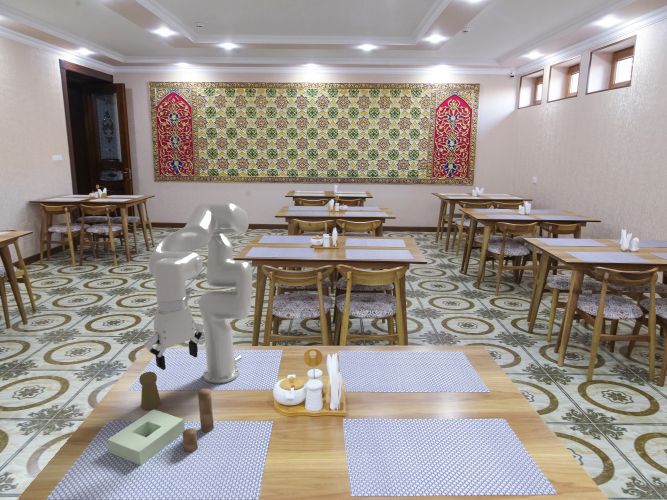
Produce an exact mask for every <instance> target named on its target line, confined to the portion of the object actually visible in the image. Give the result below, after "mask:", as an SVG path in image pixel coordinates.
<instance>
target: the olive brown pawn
mask: <svg viewBox="0 0 667 500" xmlns="http://www.w3.org/2000/svg"><path fill="white" fill-rule="evenodd" d="M157 380H158V375H157V374H156V373H155V372H154V371H146V372H143V373H141V374H140V375H139V381H138V382H139V384H140V385H141V399H140V400H141V401H140V407H141V409H142V410H144V411H152V410H153V409H154V410H156V409H157V408H159V407H160V406H161V405H162V401H161V398H160V397H161V396H160V394H159V390H158V386H157Z"/></svg>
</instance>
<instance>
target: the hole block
mask: <svg viewBox="0 0 667 500" xmlns="http://www.w3.org/2000/svg"><path fill="white" fill-rule="evenodd" d="M185 430H186V429H185V419H184V418H181V417H178V416H175V415H172V414H170V413H167V412H163V411H160V410H157V409H152V410H149V412H147V413H145V414H144V415H143V416H141V417H140V418H138V419H136V420H135V421H134V422H132V423H130V424H129V425H127V426H126V427H125V428H123V429H120V430H119V431H118V432H117V433H115V434H114V435H112V436H110V437H109V438H108V439H107V444H108V445H107V446H108V451H109V452H108V453H110V454H112V455H115V456H117V457H119V458H121V459H124V460H127V461H129V462H132V463H134V464H137V465H139V466H142V465H143V464H144V463H146V462H147V461H149V460H150V459H151V458H152V457H154V456H155V455H156V454H157V453H159V452H160V451H162V450H163V449H164V448H165V447H166V446H168V445H169V444H171V442H173V441H175V439H177V438H178V437H180V436H181V435H183V432H184V431H185Z"/></svg>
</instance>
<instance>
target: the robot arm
mask: <svg viewBox="0 0 667 500" xmlns="http://www.w3.org/2000/svg"><path fill="white" fill-rule="evenodd" d="M248 215H249V214H248V213H247V212H246V211H245V210H244V209H243V208H241V207H240V206H238V205H236V204H234V203H231V202H203V203H200V204H198V205H197V206H196V208H195V209H194V210H193V212H192V214H191V216H190V217H189V219H188V221H187V222H186V224H185V226H184V227H182V228H180V229H178V230H176V231H175V232H173V233H171V234H169V235H167V236H166V237H163V238H162V239H161V240H160V241H159V243H157V244H156V247H155V248H154V250H153V252H152V253H151V255H150V257H149V260H148V270H149V272H150V274H151V275H152V276H153V277H154V284H155V285H154V286H155V293H156V304H157V309H156V310H155V311H154V317H153V335H152V336H151V337H150V338H149V339H147V341H145V343H143V346H144V347H145V348H146V350H147V351H148V352H149V353H151V354H152V355H154V356H155V364H156V367H158V368H159V369H161V370H162V371H165V370H166V369H167V368H166V358H165V355H164V353H165V352H166V350H167V349H169V348H172V347H174V346H177V345H180V344H182V343H185V342H188V351H189V353H188V354H189V355H190V356H192V357H194V358H197V357H198V352H199V350H198V344H199V342H200V339H201V337H202V336H203V334H204V344H205V358H206V368H207V369H206V370H204V372H203V375H202V376H203V379H204V381H205V382H207V383H211V384H225V383H229V382H231V381H233V380H235V379H236V378H238V376H239V375H240V369H239V367H238V366H237V363H239V362H240V361H242V359H243V357H242V356H241V355H237V356H235V354H234V341H233V338H234V337H233V328H232V325H231V324H230V322H229V320H231V319H232V320H244V319H246V318H247V317H249V315H250V312H251V305H252V288H253V269H252V266H251V264H250V263H249V262H247V261H244V260H233V253H234V252H233V251H234V249H233V245H232V242H230V241H229V239H228V238H227V236H225V235H243V234H245V233H246V232H247V231H248V229H249V225H250V220H249V216H248ZM206 246H207V249H208V251H207V262H206V277H205V278H206V283H207V285H208V286H210V287H213V288H222V289H223V288H227V289H229V288H230V289H231V288H232V289H236V290H237V291H236V290H235V291H230V290H229V291H228V290H211V291H206V292H204V293H203V294H202V295H201V296H200V298H199V299H198V300H199V301H198V309H199V312H200V315H201V316H200V317H201V319H202V323H197V322H194V317H193V313H192V310H191V308H190V305H189V304H188V302H189V301H190V300H191V299H192V297H191V295H189V294H188V295H187V290H186V288H187V287H186V281H189V280H191V279H194V278H196V277H198V276H199V274H201V272H202V269H203V267H204V266H203V265H204V263H203V259H202V258H203V257H201V255H200V254H198V253H197V252H195V251H196V250H198V249H201V248H204V247H206ZM195 329H196V330H195ZM203 331H204V333H203ZM154 344H155V345H156V346H155V348H154V347H153V345H154Z"/></svg>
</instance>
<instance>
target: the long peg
mask: <svg viewBox="0 0 667 500" xmlns="http://www.w3.org/2000/svg"><path fill="white" fill-rule="evenodd" d="M197 398H198V407H199V410H198V411H199V420H200V430H201V432H204V433H209V432H212V431H214V428H215V427H214V426H215V425H214V414H213V402H212V400H213V399H212V390H211V389H210V388H202V389H199V390H198V391H197Z"/></svg>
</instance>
